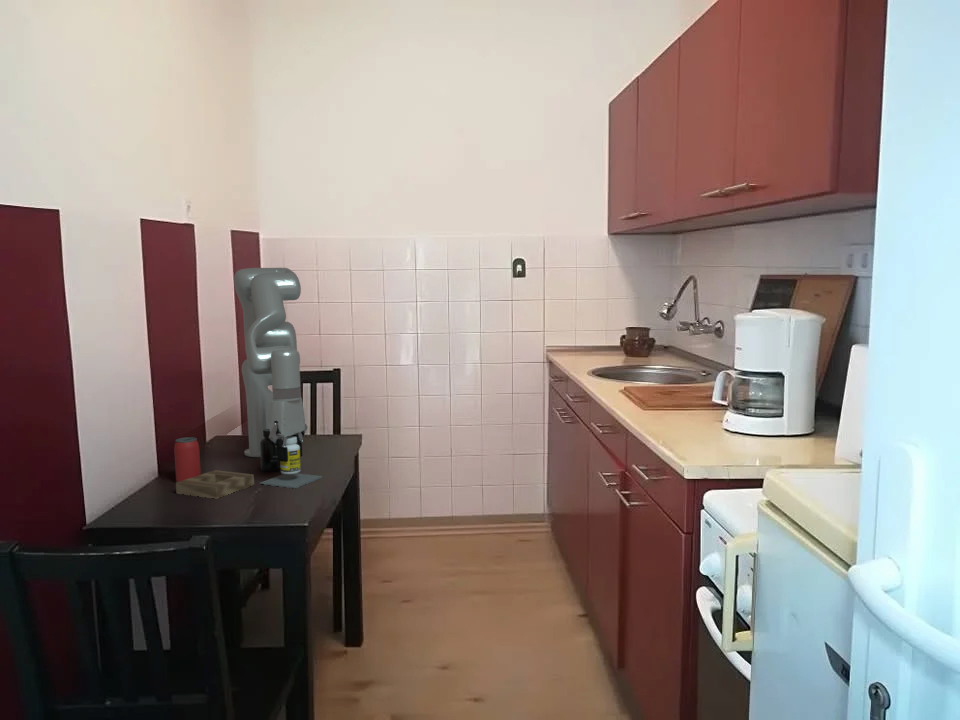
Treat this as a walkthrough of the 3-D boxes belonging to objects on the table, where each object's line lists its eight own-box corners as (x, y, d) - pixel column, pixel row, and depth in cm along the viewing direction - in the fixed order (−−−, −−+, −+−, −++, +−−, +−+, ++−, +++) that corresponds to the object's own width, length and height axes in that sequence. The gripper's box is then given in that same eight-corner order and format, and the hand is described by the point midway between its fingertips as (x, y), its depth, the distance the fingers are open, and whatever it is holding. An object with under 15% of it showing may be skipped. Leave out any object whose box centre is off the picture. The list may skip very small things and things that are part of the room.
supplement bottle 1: (278, 472, 221) (276, 432, 220) (257, 472, 223) (254, 431, 221) (289, 466, 228) (287, 427, 227) (268, 466, 229) (265, 427, 228)
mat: (288, 474, 219) (288, 472, 219) (322, 477, 214) (322, 476, 214) (259, 484, 208) (259, 482, 208) (294, 488, 203) (294, 487, 203)
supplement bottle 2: (290, 475, 207) (288, 440, 206) (276, 473, 210) (274, 438, 209) (305, 471, 212) (303, 436, 211) (291, 469, 215) (289, 434, 214)
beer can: (206, 478, 216) (203, 437, 215) (190, 484, 210) (187, 442, 209) (187, 477, 218) (184, 436, 217) (171, 483, 212) (168, 441, 211)
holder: (215, 480, 214) (214, 470, 214) (254, 485, 208) (253, 474, 208) (176, 493, 201) (175, 482, 201) (216, 499, 195) (215, 487, 195)
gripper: (295, 389, 218) (299, 451, 220) (254, 398, 203) (258, 464, 205) (317, 390, 215) (320, 453, 217) (276, 399, 199) (280, 467, 201)
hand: (290, 458), depth 211 cm, fingers closed on supplement bottle 2, 5 cm apart
